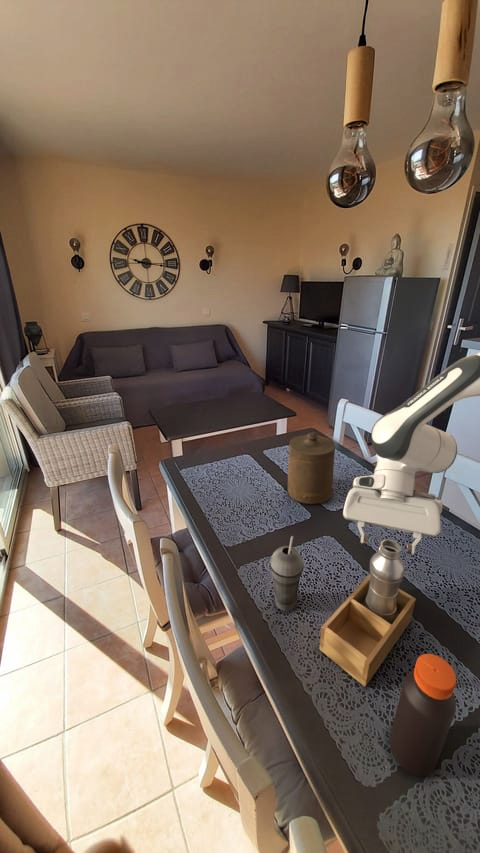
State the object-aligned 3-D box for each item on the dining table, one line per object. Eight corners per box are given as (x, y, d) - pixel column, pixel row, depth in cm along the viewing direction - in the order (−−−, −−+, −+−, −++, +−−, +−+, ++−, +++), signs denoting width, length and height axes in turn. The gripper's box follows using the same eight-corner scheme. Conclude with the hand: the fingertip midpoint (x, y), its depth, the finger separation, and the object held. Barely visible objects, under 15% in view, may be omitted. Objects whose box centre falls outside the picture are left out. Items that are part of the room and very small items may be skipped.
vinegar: (389, 766, 56) (410, 686, 47) (389, 719, 61) (408, 640, 53) (438, 786, 53) (469, 706, 45) (433, 735, 59) (460, 655, 51)
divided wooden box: (410, 620, 78) (416, 598, 75) (365, 687, 66) (369, 664, 63) (367, 593, 85) (371, 572, 82) (319, 649, 73) (321, 626, 70)
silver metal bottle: (385, 638, 74) (399, 564, 66) (356, 616, 78) (366, 545, 70) (400, 619, 78) (416, 546, 69) (371, 599, 82) (383, 529, 74)
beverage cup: (283, 584, 88) (285, 518, 80) (307, 602, 83) (312, 533, 75) (263, 602, 83) (262, 534, 75) (288, 622, 78) (290, 551, 70)
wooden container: (317, 476, 132) (321, 421, 123) (340, 498, 119) (346, 439, 110) (280, 484, 128) (281, 428, 119) (299, 508, 115) (302, 447, 106)
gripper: (439, 498, 83) (436, 561, 79) (348, 483, 90) (339, 539, 85) (446, 493, 77) (442, 559, 73) (347, 476, 84) (339, 537, 80)
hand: (386, 548), depth 79 cm, fingers open, 8 cm apart
